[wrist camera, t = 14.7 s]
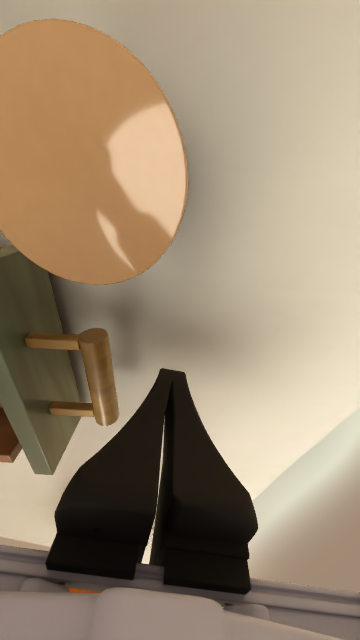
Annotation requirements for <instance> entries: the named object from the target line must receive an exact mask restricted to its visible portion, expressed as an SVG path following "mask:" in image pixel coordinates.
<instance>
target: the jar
mask: <svg viewBox="0 0 360 640" xmlns="http://www.w3.org/2000/svg"><path fill="white" fill-rule="evenodd" d="M187 196H188V167H187V159H186V152H185V148H184V144H183V139H182V135H181V131H180V129H179V126H178V123H177V120H176V118H175V115H174V112H173V110H172V108H171V106H170V104H169V102H168V100H167V98H166V96H165V94H164V93H163V91H162V90H161V88H160V87H159V85H158V84H157V82H156V80H155V79H154V77H153V76H152V75H151V74H150V73H149V71H148V70H147V69H146V68H145V67H144V65H143V64H142V63H141V62H140V61H139V60H138V59H137V58H136V57H135V56H134V55H133V54H132V53H131V52H130V51H129V50H128V49H126V48H125V47H124V46H123V45H121V44H120V43H118V42H117V41H116V40H114V39H113V38H111V37H110V36H108V35H106V34H104V33H102V32H100V31H98V30H96V29H94V28H92V27H90V26H87V25H84V24H80V23H77V22H74V21H68V20H59V19H45V20H35V21H31V22H28V23H25V24H22V25H18V26H17V27H15V28H13V29H11V30H9V31H8V32H6V33H4V34H3V35H2V36H0V230H1V232H2V233H3V234H4V236H5V237H6V238H7V239H8V240H9V241H10V242H11V243H12V244H13V245H14V246H15V247H16V248H17V249H18V250H19V251H20V252H21V253H22V254H23V255H25V256H26V257H27V258H29V259H30V260H31V261H33V262H34V263H35V264H37V265H38V266H40V267H42V268H43V269H45V270H47V271H48V272H51V273H53V274H55V275H57V276H59V277H62V278H65V279H67V280H70V281H74V282H79V283H84V284H93V285H106V284H113V283H119V282H122V281H125V280H129V279H131V278H133V277H135V276H138V275H139V274H141V273H143V272H144V271H146V270H147V269H149V268H150V267H151V266H152V265H153V264H155V263H156V262H157V261H158V260H159V259H160V258H161V256H162V255H163V254H164V253H165V252H166V250H167V249H168V247H169V246H170V244H171V243H172V241H173V239H174V237H175V235H176V233H177V231H178V229H179V226H180V223H181V220H182V218H183V215H184V211H185V206H186V202H187Z"/></svg>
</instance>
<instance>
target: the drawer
mask: <svg viewBox="0 0 360 640" xmlns="http://www.w3.org/2000/svg"><path fill="white" fill-rule="evenodd" d="M80 349H81V354H82V358H83V363H84V367H85V372H86V377H87V381H88V386H89V391H90V395H91V400H92V403H81V402H80V398H79V394H78V390H77V386H76V382H75V378H74V374H73V370H72V366H71V362H70V358H69V354H68V350H80ZM81 416H83V417H94V416H95V419H96V422H97V423H98V424H99V425H102V426H108V425H111V424H113V423H114V422H116V420H117V419H118V417H119V409H118V402H117V395H116V387H115V380H114V373H113V366H112V359H111V352H110V345H109V337H108V333H107V331H106V330H104V329H100V328H93V329H88V330H86V331H84V332H82V333H81V334H80V335H72V334H63V330H62V326H61V322H60V318H59V314H58V310H57V306H56V302H55V298H54V294H53V290H52V286H51V282H50V278H49V274H48V271H47V270H45V269H43V268H42V267H40V266H38V265H37V264H35V263H34V262H33V261H31V260H30V259H29V258H27V257H26V256H25V255H23V254H22V253H21V252H20V251H19V250H18V249H17V248H16V247H15V246H14V245H10V246H7V247H3V248H0V462H8V463H13V462H14V460H15V459H16V457H17V456H18V454H19V453H20V451H21V450H22V448H23V450H24V452H25V455H26V457H27V459H28V461H29V463H30V465H31V467H32V469H33V471H34V473H35V474H45V475H53V474H54V472H55V470H56V467H57V465H58V463H59V461H60V459H61V457H62V455H63V453H64V451H65V449H66V447H67V445H68V443H69V441H70V439H71V437H72V435H73V433H74V431H75V429H76V427H77V424H78V422H79V420H80V418H81Z"/></svg>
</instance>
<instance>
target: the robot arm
mask: <svg viewBox="0 0 360 640" xmlns="http://www.w3.org/2000/svg"><path fill="white" fill-rule="evenodd" d="M164 416H165V423H164ZM163 426H164V448H163V464H162V472H161V480H160V488H159V496H158V485H159V471H160V458H161V447H162V436H163ZM157 498H158V504H157ZM156 507H157V511H156ZM155 515H156V519H155V526H154V534H153V541H152V548H151V555H150V562H149V564H142V563H141V562H142V558H143V555H144V551H145V547H146V546H147V543H148V539H149V536H150V532H151V529H152V525H153V522H154V518H155ZM55 522H56V528H57V534H56V537H55V539H54V542H53V544H52V547H51V549H50V551H43V550H35V549H28V548H20V547H12V546H5V545H0V640H360V592H354V591H346V590H338V589H331V588H324V587H316V586H309V585H301V584H292V583H286V582H278V581H271V580H263V579H255V578H250V576H249V570H248V562H247V560H248V559H249V550H248V542H249V541H250V540H251V539H252V537H253V536H254V535H255V533H256V532H257V530H258V523H257V518H256V513H255V510H254V507H253V503H252V500H251V497H250V494H249V492H248V491H247V490H246V489H245V488H244V486H243V485H242V484H241V483H240V481H239V480H238V479H237V478H236V476H235V475H234V474H233V472H232V471H231V469H230V468H229V467H228V465H227V464H226V463H225V461H224V460H223V458H222V456H221V455H220V453H219V452H218V450H217V449H216V447H215V446H214V444H213V442H212V440H211V439H210V437H209V435H208V433H207V431H206V430H205V428H204V426H203V424H202V421H201V419H200V417H199V415H198V412H197V410H196V408H195V405H194V402H193V400H192V397H191V394H190V391H189V387H188V384H187V379H186V374H185V373H184V372H181V371H175V370H169V369H164V368H162V369H160V371H159V374H158V377H157V379H156V381H155V383H154V385H153V387H152V389H151V390H150V392H149V394H148V395H147V397H146V398H145V400H144V401H143V403H142V404H141V406H140V407H139V408H138V410H137V411H136V412H135V414H134V415H133V416H132V417H131V419H130V420H129V421H128V422H127V423H126V424H125V425H124V427H123V428H122V429H121V430H120V431H119V432H118V433H117V434H116V435H115V436H114V437H113V438H112V439H111V440H110V441H109V442H108V443H107V444H106V445H105V446H104V447H103V448H102V449H101V450H100V451H98V452H97V453H96V454H95V455H94V456H93V457H91V458H90V459H89V460H88V461H87V462H85V463H84V464H83V465H82V466H81V467H80V468H79V469H78V471H77V472H76V473H75V475H74V476H73V478H72V479H71V481H70V482H69V484H68V486H67V487H66V489H65V491H64V493H63V495H62V497H61V499H60V501H59V504H58V506H57V509H56V511H55ZM68 588H72V589H80V590H88V591H96V592H102V593H70V592H69V590H68ZM222 607H224V608H222Z"/></svg>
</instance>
